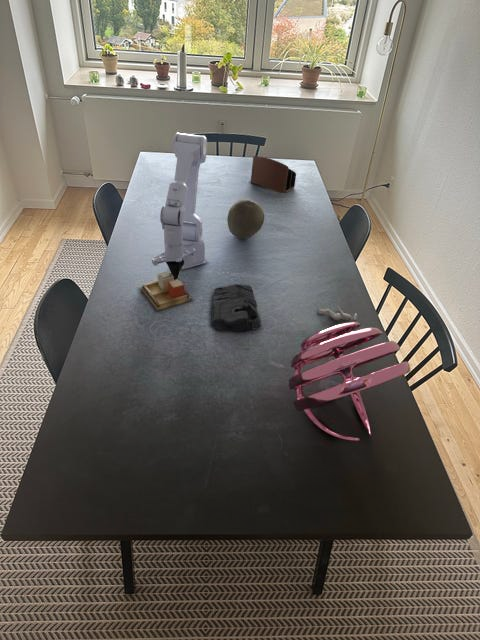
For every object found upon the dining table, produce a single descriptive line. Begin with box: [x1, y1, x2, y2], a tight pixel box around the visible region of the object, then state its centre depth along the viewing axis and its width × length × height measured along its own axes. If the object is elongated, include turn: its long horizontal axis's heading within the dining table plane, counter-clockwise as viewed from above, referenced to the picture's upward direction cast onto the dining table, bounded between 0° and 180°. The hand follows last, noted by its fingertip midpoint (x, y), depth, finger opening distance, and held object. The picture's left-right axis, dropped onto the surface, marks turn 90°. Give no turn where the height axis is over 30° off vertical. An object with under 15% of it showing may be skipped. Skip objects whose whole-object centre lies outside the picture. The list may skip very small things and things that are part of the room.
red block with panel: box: [168, 278, 185, 299], centre depth 146 cm, size 4×4×5 cm
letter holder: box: [250, 155, 297, 195], centre depth 219 cm, size 10×20×14 cm, turn 55°
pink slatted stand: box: [288, 321, 411, 442], centre depth 106 cm, size 28×28×27 cm
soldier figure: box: [317, 305, 358, 322], centre depth 144 cm, size 8×5×12 cm
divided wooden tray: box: [140, 279, 192, 312], centre depth 148 cm, size 12×13×2 cm
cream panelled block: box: [157, 270, 174, 289], centre depth 149 cm, size 4×4×5 cm
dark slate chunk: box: [210, 283, 262, 332], centre depth 144 cm, size 15×22×5 cm
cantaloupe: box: [226, 198, 265, 239], centre depth 178 cm, size 14×14×15 cm
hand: (174, 277), depth 151 cm, fingers closed
